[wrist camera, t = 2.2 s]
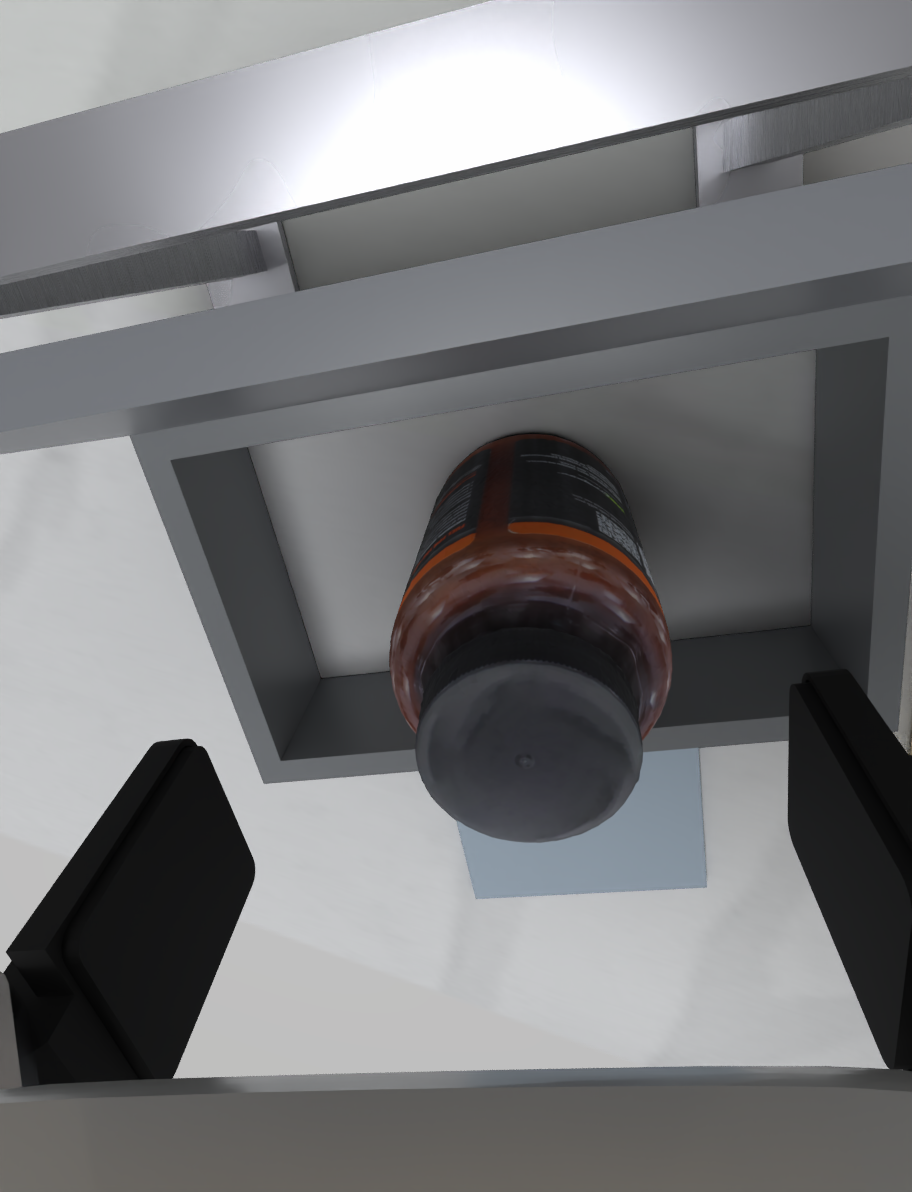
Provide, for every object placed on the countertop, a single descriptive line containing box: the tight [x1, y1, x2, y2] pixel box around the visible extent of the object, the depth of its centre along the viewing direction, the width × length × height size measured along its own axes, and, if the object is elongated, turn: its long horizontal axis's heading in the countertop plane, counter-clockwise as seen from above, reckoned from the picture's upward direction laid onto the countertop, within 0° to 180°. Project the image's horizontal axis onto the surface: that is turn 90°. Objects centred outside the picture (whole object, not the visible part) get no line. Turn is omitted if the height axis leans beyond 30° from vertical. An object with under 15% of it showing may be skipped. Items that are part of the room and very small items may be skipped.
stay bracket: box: [0, 0, 912, 319], centre depth 12 cm, size 3×15×16 cm, turn 101°
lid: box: [0, 163, 912, 454], centre depth 11 cm, size 11×18×1 cm
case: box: [130, 295, 912, 784], centre depth 21 cm, size 11×18×4 cm, turn 101°
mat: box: [456, 748, 707, 899], centre depth 27 cm, size 9×9×1 cm
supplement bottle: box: [389, 434, 672, 843], centre depth 18 cm, size 6×6×11 cm
